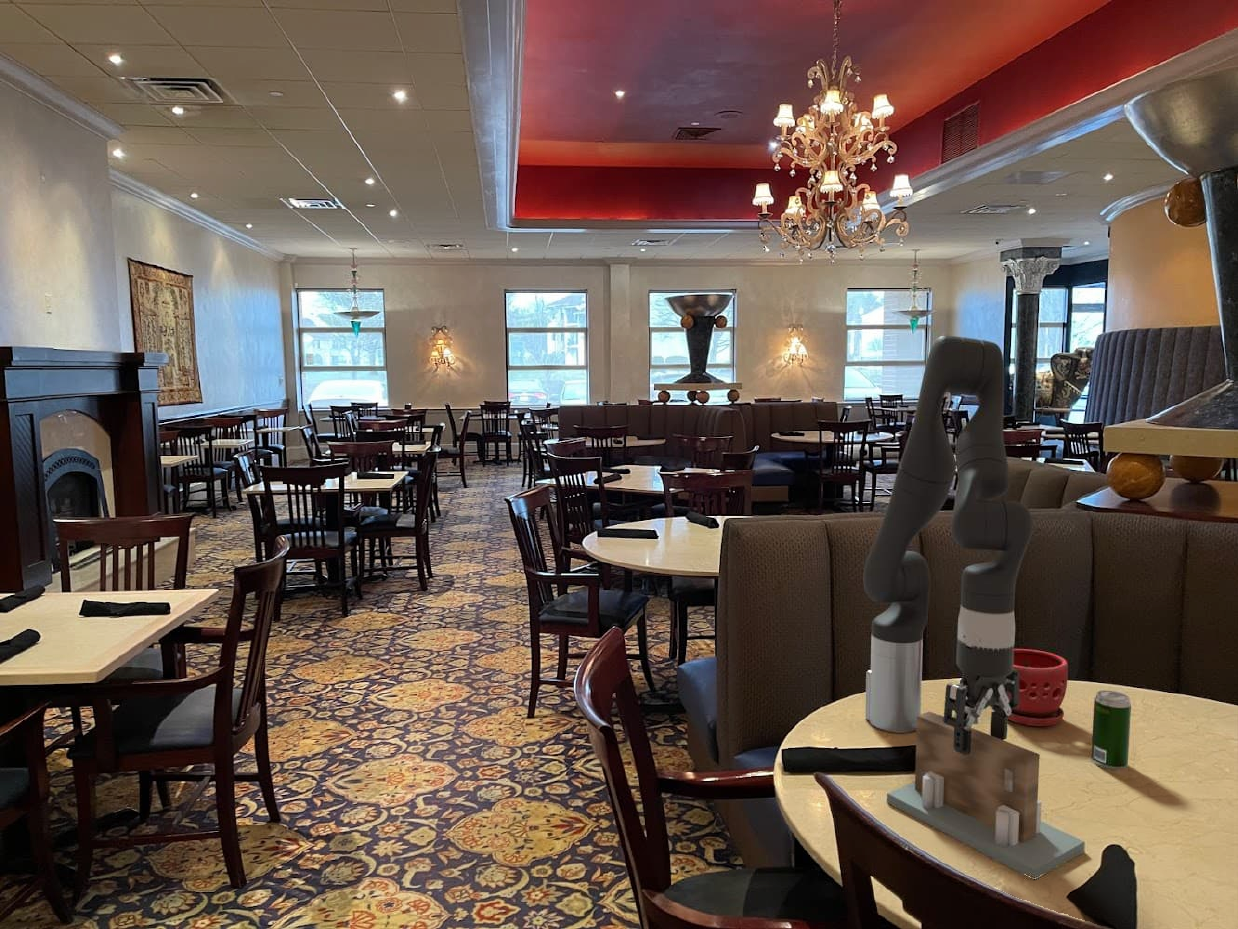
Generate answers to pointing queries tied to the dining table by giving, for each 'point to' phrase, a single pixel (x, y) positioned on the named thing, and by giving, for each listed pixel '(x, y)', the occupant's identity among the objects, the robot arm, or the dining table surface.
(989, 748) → the wooden board
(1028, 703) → the plant pot
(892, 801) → the pegged base plate
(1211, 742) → the dining table surface
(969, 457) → the robot arm
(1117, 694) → the beer can
